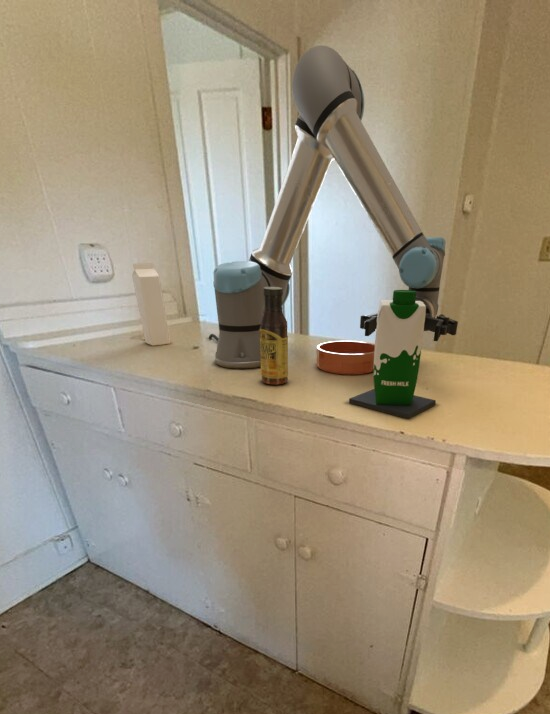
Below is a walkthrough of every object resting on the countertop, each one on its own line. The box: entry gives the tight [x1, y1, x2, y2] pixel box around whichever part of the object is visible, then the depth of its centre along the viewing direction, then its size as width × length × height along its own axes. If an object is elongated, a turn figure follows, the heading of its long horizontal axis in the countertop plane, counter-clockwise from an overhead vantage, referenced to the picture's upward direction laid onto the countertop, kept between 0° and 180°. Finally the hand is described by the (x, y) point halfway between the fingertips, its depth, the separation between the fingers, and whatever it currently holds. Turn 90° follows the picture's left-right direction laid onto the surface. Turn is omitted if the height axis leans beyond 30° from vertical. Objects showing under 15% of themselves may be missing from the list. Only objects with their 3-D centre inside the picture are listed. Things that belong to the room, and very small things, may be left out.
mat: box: [348, 388, 437, 420], centre depth 87 cm, size 14×11×1 cm
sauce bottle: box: [260, 287, 289, 386], centre depth 95 cm, size 7×6×20 cm
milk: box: [131, 262, 171, 347], centre depth 130 cm, size 6×6×22 cm
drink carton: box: [372, 289, 426, 406], centre depth 81 cm, size 9×9×20 cm
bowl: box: [316, 340, 375, 376], centre depth 111 cm, size 16×16×5 cm
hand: (401, 331), depth 83 cm, fingers open, 13 cm apart
